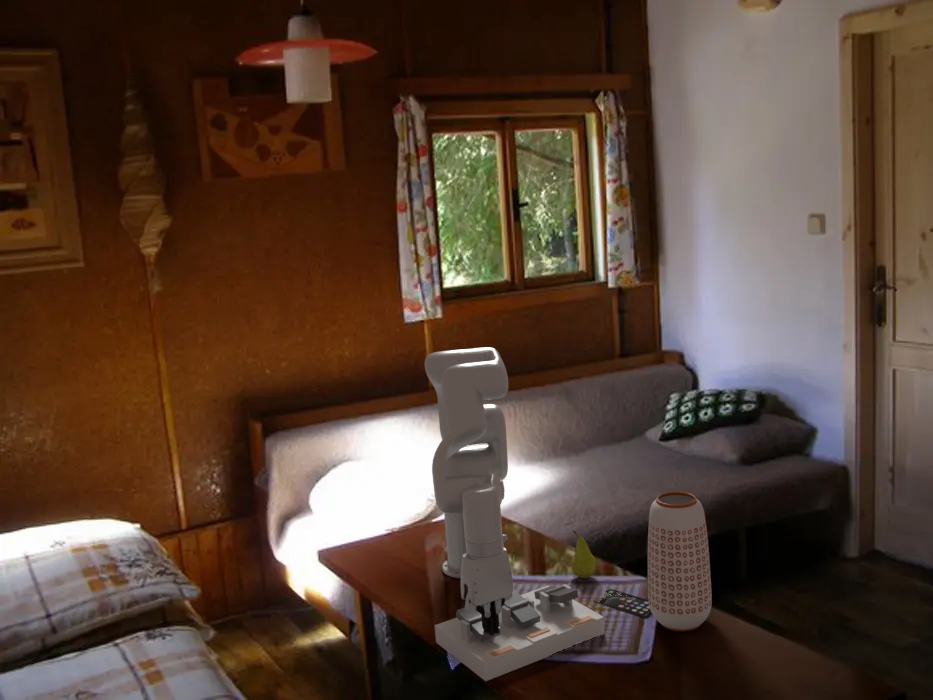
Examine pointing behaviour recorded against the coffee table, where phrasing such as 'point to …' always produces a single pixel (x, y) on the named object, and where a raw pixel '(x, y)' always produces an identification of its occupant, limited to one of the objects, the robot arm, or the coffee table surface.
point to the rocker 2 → (521, 610)
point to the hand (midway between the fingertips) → (491, 631)
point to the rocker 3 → (557, 594)
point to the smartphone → (627, 603)
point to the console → (520, 636)
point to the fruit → (583, 559)
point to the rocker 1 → (475, 624)
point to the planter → (678, 562)
